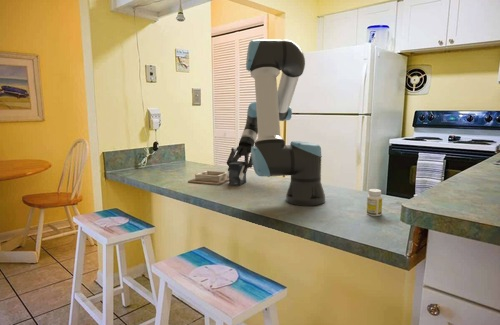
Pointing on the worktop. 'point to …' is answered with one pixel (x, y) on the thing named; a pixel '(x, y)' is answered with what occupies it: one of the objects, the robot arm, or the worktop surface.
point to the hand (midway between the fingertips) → (234, 178)
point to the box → (236, 173)
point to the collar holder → (210, 178)
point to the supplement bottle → (374, 202)
